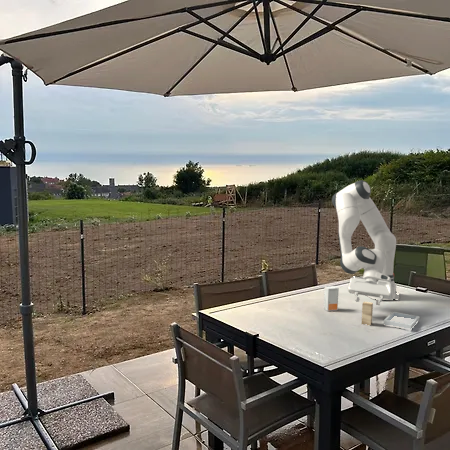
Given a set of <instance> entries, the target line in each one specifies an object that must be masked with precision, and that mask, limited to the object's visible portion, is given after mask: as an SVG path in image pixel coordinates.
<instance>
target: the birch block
mask: <svg viewBox="0 0 450 450" xmlns="http://www.w3.org/2000/svg"><path fill="white" fill-rule="evenodd" d="M361 304H362V306H361V325H362V324H367V325H366V326H368V325H371V326H372V324H373V311H374V309H373V308H374V302H370V301H363V302H362V303H361ZM371 323H372V324H371Z"/></svg>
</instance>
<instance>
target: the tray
mask: <svg viewBox="0 0 450 450" xmlns="http://www.w3.org/2000/svg"><path fill="white" fill-rule="evenodd" d="M394 316H397V317H404V318H411V319H414V320H413V321H412V322H411V323H410V324H405V323H400V322H395V321H390V320H391V319H392V318H393V317H394ZM418 320H419V321H420V316H419V315H413V314H408V313H404V312H398V311H391V313H390V314H389V315H388V316H386V317H385V318H384V319H383V324H385V325H393V326H399V327H404V328H410V329H411V328H412V327H413V326H414V325H415V324H416V322H417V321H418Z"/></svg>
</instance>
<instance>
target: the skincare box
mask: <svg viewBox="0 0 450 450" xmlns="http://www.w3.org/2000/svg"><path fill="white" fill-rule="evenodd" d="M323 295H324V296H323V310H324V311H326V312H332V311H334V312H335V311H338V307H339V287H337V286H335V285H333V286H332V285H331V286H329V285H328V286H324V294H323Z"/></svg>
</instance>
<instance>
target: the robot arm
mask: <svg viewBox="0 0 450 450" xmlns="http://www.w3.org/2000/svg"><path fill="white" fill-rule="evenodd" d="M371 194H372V190H371V186H370V185H369V184H368V182H367V181H365V180H363V179H362V180H357V181H355V182H354V183H351V184H349V185H347V186H345V187H344V188H342V189H341V190H339V191H337V192H336V193H334V194H333V195H332V198H331V202H332V205H333V206H334V209H336V214H337V219H338V232H337V233H338V235H337V236H338V242H339V243H338V244H339V249H340V250H339V251H340V261H339V263H340V268H341V269H342V270H343V271H344V272H345V273H346V274H350V275H354V276H351V277H350V279H349V284H348V287H347V291H348V293H349V294H354V297H355V302H356V303H360V296H365V297H368V298H369V299H372V300H375V299H376V301H375V302H376V303H375V304H376V306H380V305H381V302H382V300H392V299H399V300H400V297H399V295H397V294H396V293H397V292H398V291H397V284H396V283H395V281H394V280H395V273H394V261H395V256H396V255H395V254H396V249H397V248H396V247H397V238H396V235H394V234H393V233H392V232H391V230H390V229H389V227H388V225H387V223H386V221H385V219H384V217H383V215H382V214H381V212H380V210H379V209H378V207H377V205H376V204H375V203H374V201H373V200H372V198H371V197H370V196H371ZM360 222H361V223H362V224H363V226H364V228H365V230H366V232H367V233H368V235H369V237H370V239H371V240H372V242H373V244H374V248H373V249H372V248H368V247H366V246H361V245H360V246H357V247H356V248H354V249H353V245H352V236H353V234H354V232H355V230H356V229H357V228H358V226H359V224H360ZM362 269H363V270H364V271H363V275H362V276H355V274H356V273H357V272H358V271H360V270H362ZM359 295H360V296H359Z"/></svg>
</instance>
